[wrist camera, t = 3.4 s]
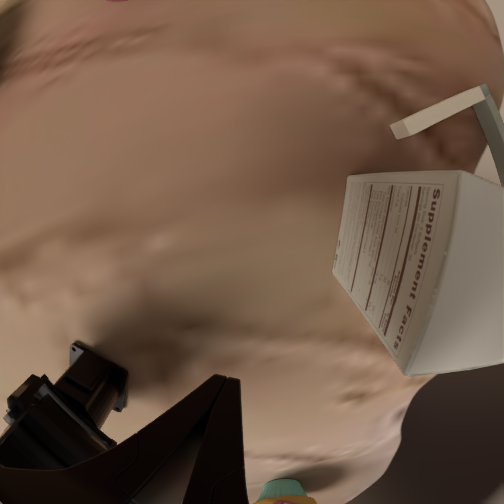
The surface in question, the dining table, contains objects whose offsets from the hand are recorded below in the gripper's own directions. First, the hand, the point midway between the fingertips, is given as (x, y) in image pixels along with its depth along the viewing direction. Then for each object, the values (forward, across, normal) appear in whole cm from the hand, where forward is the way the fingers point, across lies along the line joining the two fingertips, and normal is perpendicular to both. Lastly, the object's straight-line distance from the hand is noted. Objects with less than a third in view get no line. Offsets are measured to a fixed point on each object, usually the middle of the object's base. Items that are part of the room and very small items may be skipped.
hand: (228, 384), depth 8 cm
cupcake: (+8, -4, +32) cm, 33 cm away
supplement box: (+15, -7, -1) cm, 16 cm away
